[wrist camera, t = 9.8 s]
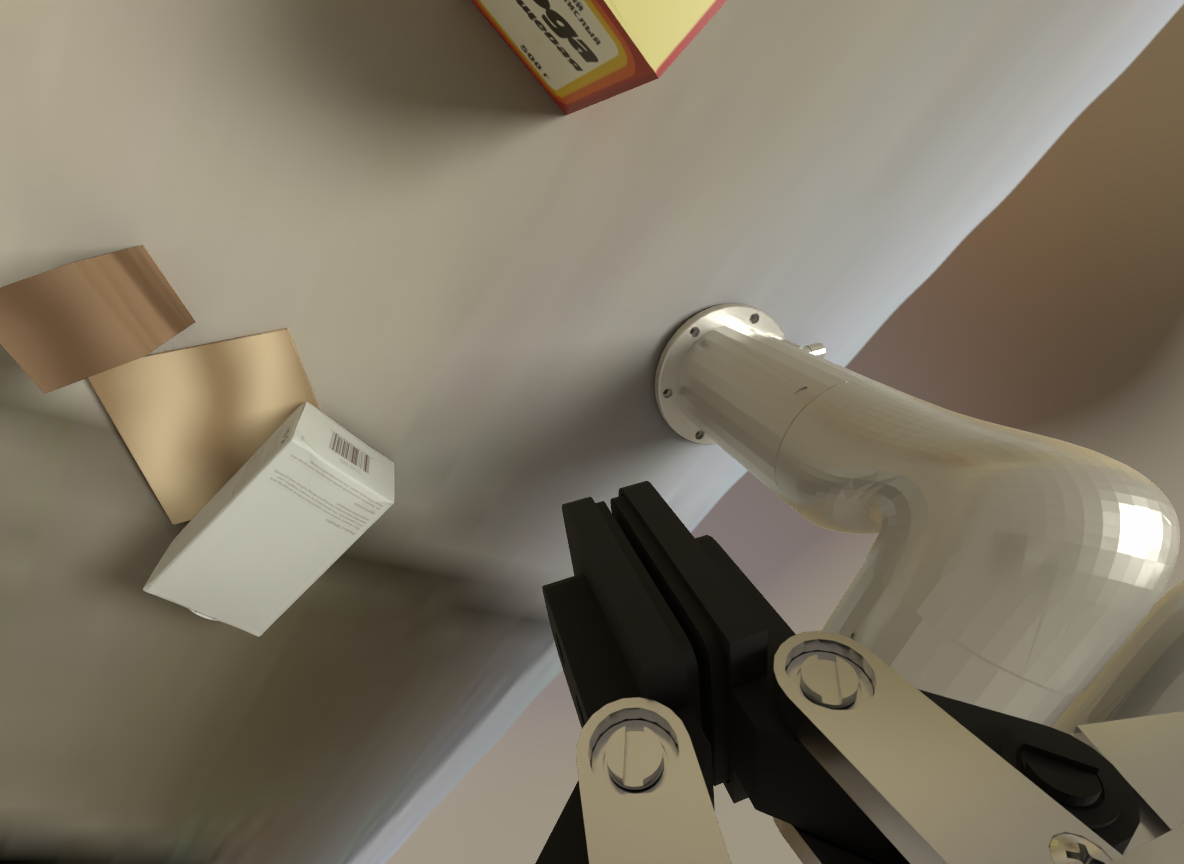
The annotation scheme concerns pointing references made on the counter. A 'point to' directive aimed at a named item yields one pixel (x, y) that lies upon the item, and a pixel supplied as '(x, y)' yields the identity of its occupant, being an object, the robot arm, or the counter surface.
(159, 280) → the walnut block
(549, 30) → the baking soda box
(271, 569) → the skincare box
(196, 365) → the brass plate
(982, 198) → the counter surface
